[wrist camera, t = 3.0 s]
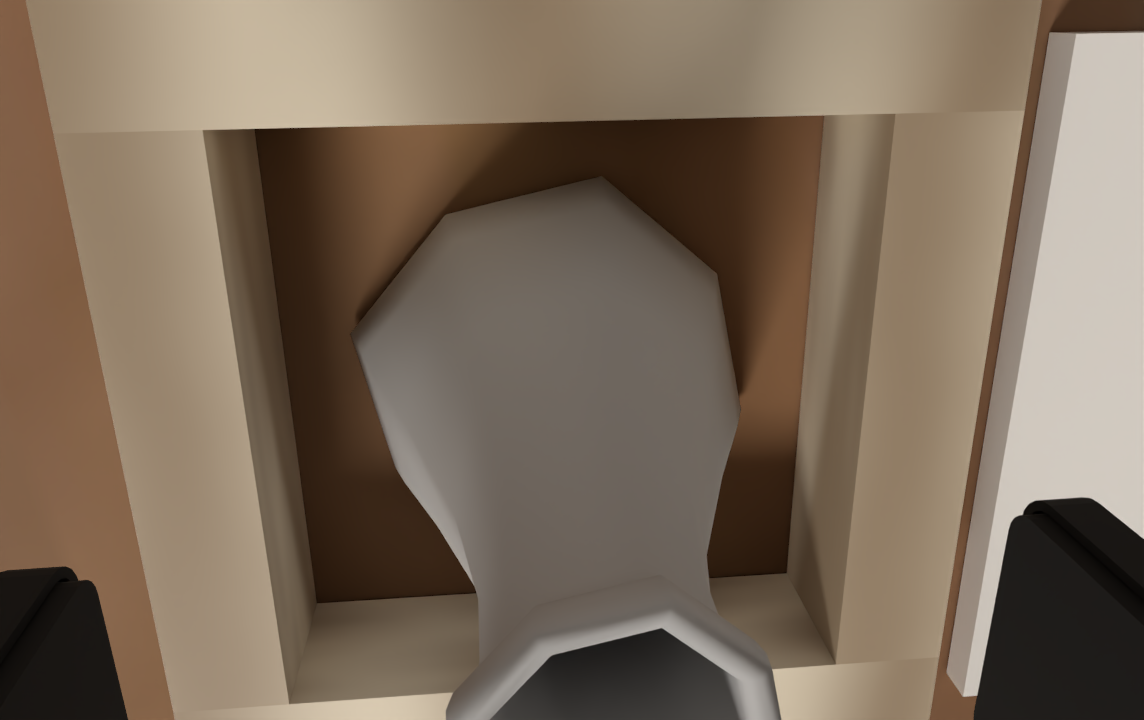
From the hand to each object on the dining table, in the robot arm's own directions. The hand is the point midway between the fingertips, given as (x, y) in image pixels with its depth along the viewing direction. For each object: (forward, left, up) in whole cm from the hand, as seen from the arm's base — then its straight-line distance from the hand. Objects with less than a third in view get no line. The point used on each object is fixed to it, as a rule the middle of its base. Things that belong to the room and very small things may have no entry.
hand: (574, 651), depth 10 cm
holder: (0, 0, -9) cm, 9 cm away
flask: (0, 0, -9) cm, 9 cm away
